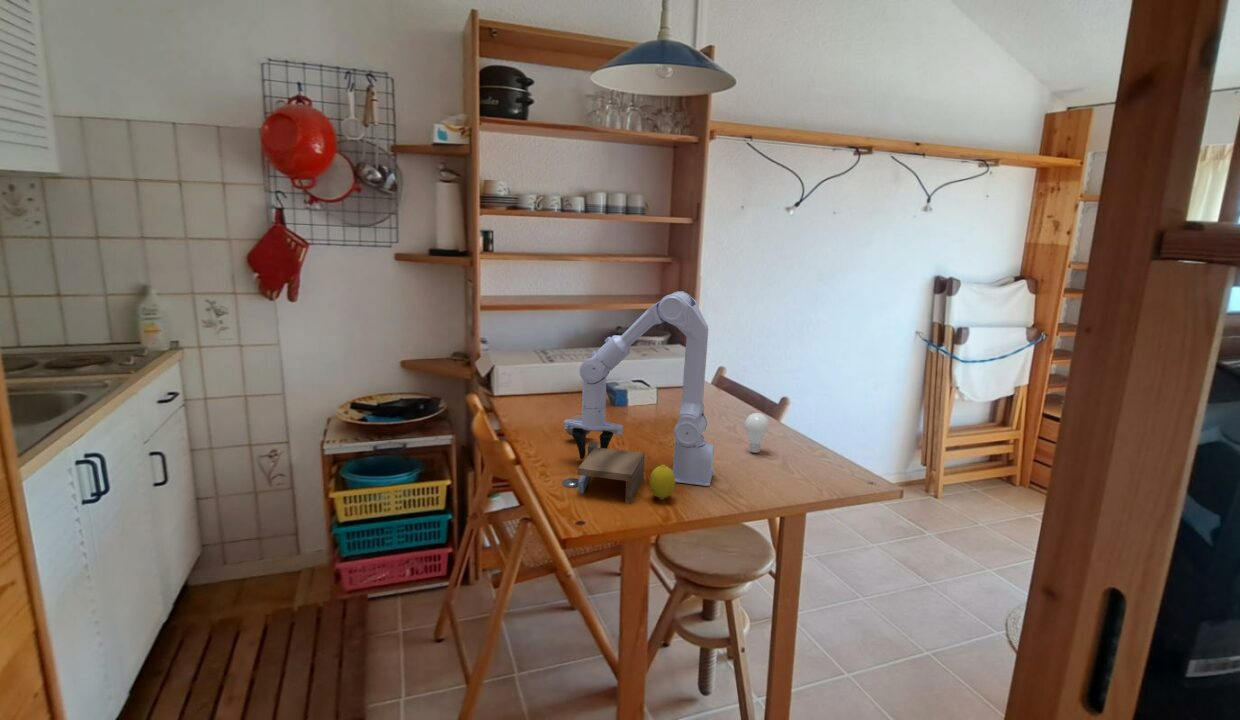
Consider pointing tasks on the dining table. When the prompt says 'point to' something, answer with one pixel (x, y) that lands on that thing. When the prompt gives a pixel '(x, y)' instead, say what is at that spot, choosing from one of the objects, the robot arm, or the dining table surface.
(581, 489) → the scraper
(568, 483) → the token
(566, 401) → the dining table surface
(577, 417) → the mushroom
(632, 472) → the shelf
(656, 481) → the lemon
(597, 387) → the robot arm
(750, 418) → the lightbulb
